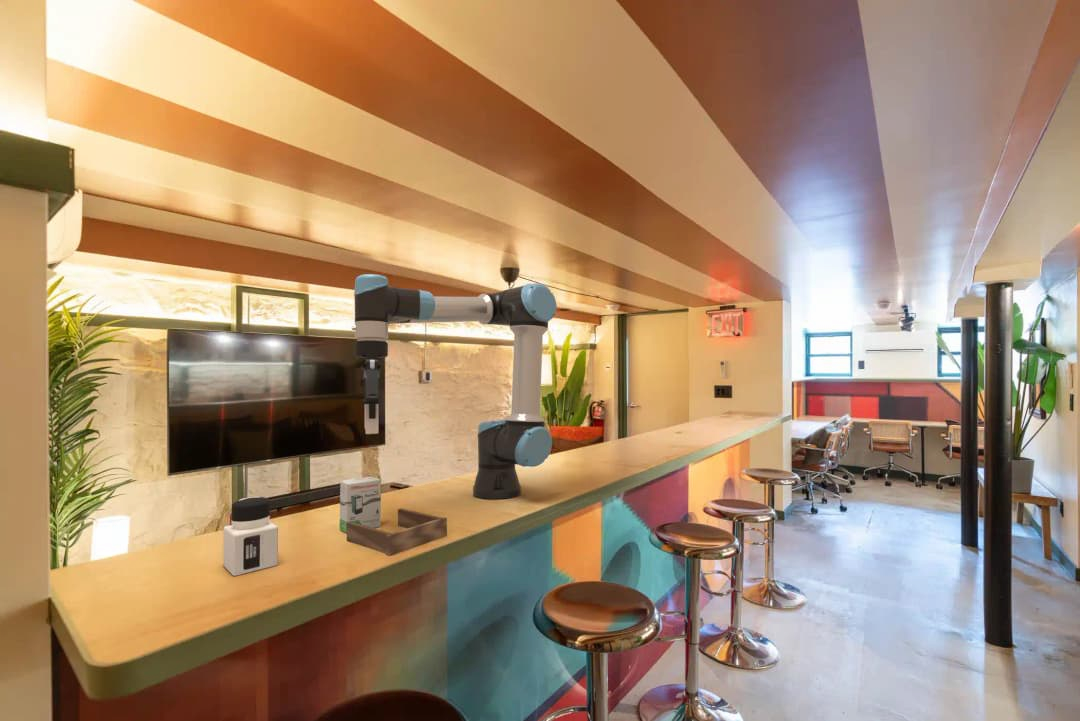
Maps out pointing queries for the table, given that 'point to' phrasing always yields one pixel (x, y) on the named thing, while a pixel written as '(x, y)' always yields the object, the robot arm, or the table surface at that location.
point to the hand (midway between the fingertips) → (371, 431)
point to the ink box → (360, 502)
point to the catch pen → (399, 532)
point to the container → (250, 537)
